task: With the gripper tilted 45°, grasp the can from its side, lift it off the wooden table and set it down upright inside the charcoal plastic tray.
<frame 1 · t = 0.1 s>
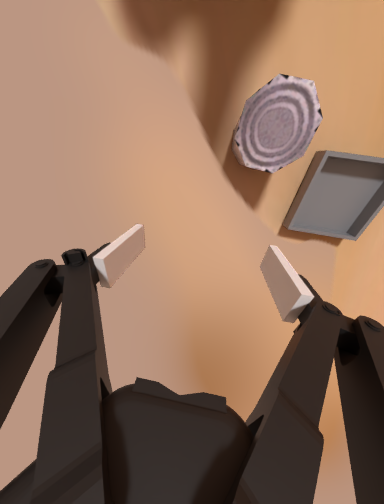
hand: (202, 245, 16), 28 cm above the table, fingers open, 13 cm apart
can: (257, 139, 32), on the table
tray: (332, 197, 36), on the table
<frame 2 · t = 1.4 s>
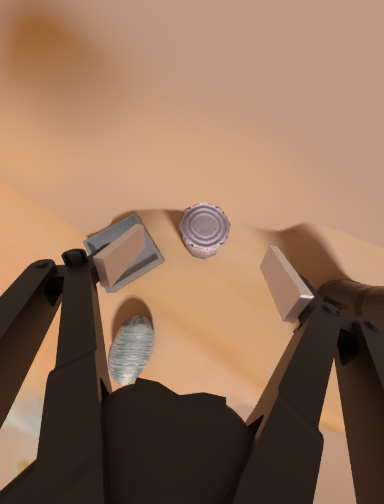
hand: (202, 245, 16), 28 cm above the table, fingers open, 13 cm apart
can: (202, 241, 45), on the table
tray: (127, 252, 44), on the table
spool: (139, 340, 39), on the table
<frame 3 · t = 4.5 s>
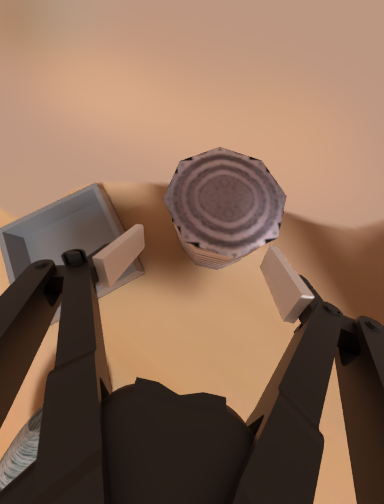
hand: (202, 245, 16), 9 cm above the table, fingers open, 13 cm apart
can: (213, 237, 26), on the table
tray: (81, 254, 25), on the table
spool: (83, 428, 20), on the table
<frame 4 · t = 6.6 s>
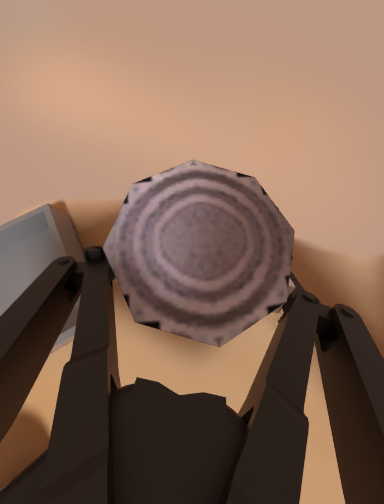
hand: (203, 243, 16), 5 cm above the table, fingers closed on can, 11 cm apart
can: (199, 266, 20), on the table, touching gripper
tray: (30, 293, 20), on the table
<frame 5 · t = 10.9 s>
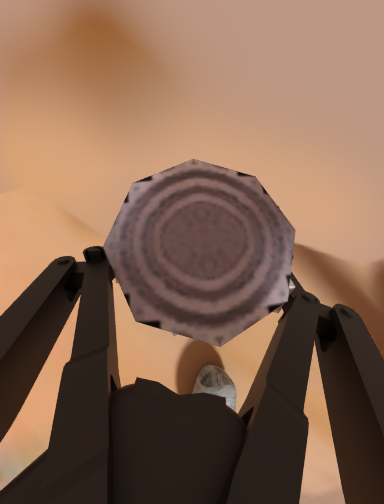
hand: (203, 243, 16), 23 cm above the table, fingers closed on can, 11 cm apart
can: (199, 266, 20), point 19 cm above the table, touching gripper
spool: (209, 394, 33), on the table
when the fingers open (6 cm above the table, at t = 15.2 s): can drops 1 cm, resting on tray.
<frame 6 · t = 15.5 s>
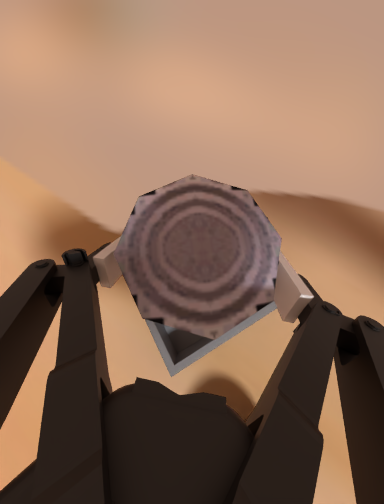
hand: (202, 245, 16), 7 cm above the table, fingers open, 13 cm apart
can: (198, 267, 22), resting on tray
tray: (198, 273, 22), on the table
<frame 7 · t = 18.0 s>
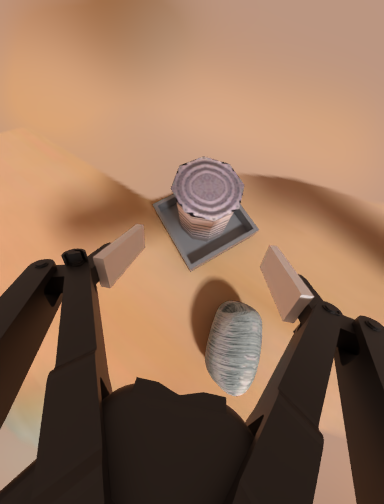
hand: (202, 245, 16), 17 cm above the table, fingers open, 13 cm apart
can: (203, 219, 35), resting on tray
tray: (203, 223, 35), on the table
spool: (228, 334, 30), on the table
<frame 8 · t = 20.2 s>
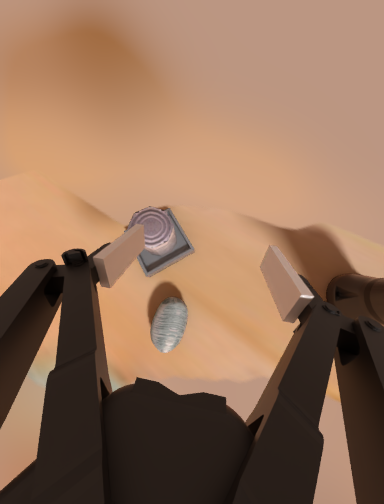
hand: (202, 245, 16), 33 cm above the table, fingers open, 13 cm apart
can: (161, 240, 50), resting on tray
tray: (160, 243, 50), on the table
spool: (172, 319, 45), on the table
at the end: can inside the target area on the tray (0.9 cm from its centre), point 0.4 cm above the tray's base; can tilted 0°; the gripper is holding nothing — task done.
